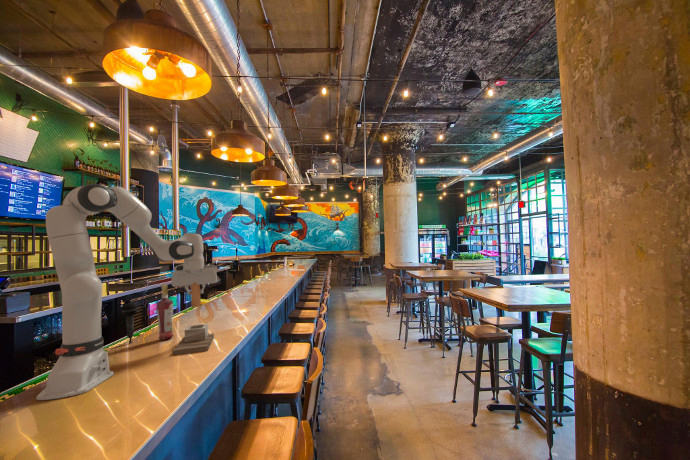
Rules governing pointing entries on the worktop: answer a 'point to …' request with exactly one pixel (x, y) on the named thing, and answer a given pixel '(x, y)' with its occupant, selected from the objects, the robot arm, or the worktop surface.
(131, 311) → the microphone
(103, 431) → the worktop surface
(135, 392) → the worktop surface
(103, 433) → the worktop surface
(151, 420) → the worktop surface
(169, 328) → the liquor
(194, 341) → the well board
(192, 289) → the peg
